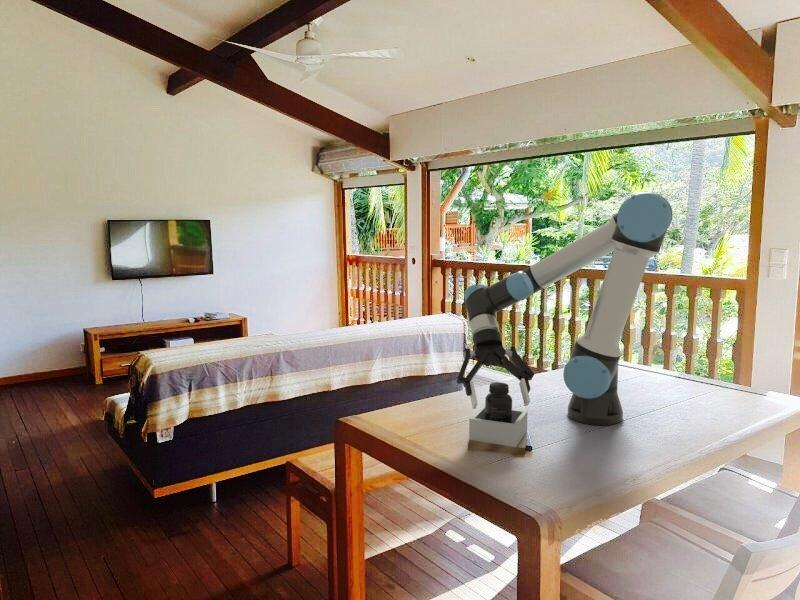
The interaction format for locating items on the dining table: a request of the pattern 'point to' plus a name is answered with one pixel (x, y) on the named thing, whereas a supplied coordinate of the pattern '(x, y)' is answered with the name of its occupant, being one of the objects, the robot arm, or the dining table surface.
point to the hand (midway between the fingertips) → (501, 405)
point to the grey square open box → (498, 428)
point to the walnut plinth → (498, 447)
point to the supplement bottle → (498, 403)
